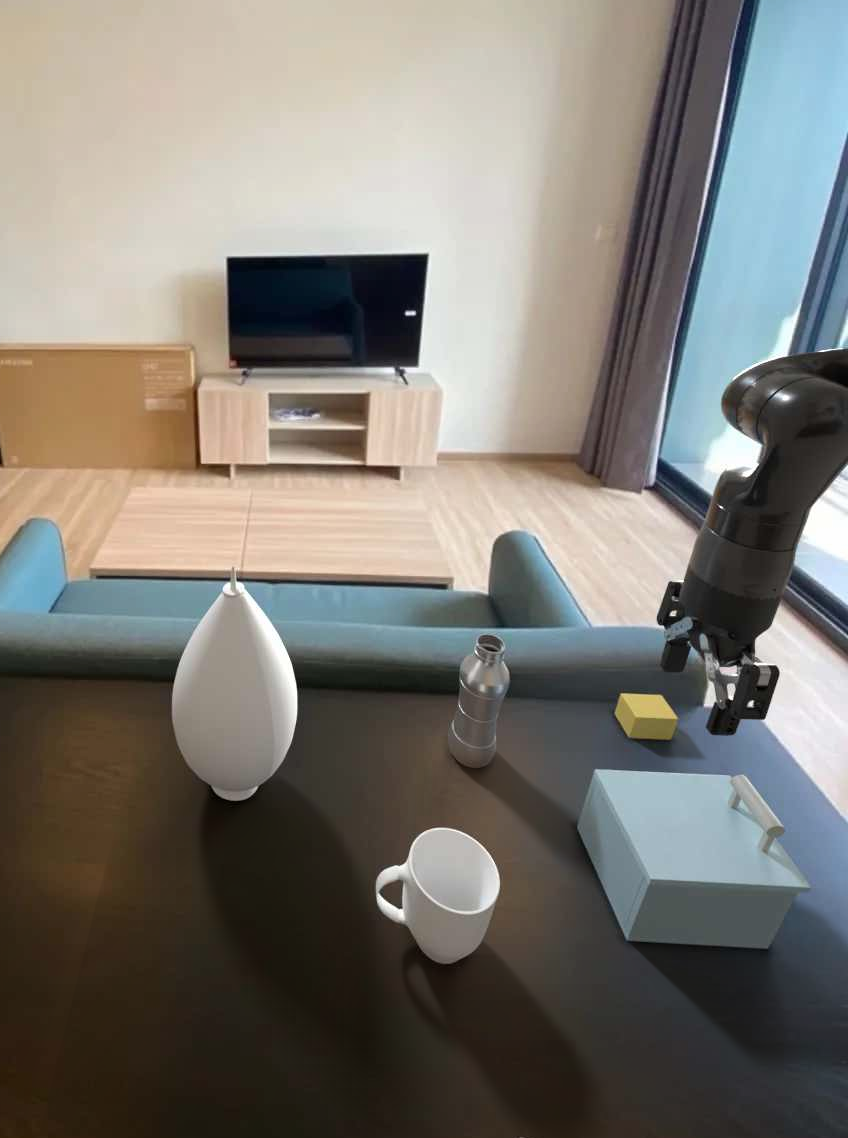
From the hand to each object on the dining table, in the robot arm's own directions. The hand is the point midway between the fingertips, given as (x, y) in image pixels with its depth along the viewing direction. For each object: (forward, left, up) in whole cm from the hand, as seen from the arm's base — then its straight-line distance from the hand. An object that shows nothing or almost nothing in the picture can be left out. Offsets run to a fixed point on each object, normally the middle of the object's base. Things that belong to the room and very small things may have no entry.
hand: (693, 699), depth 68 cm
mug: (+27, +10, -26) cm, 39 cm away
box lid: (-2, +3, -16) cm, 16 cm away
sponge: (-11, -20, -26) cm, 34 cm away
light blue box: (-2, +3, -26) cm, 26 cm away
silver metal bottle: (+16, -14, -26) cm, 34 cm away
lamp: (+49, -8, -26) cm, 56 cm away
